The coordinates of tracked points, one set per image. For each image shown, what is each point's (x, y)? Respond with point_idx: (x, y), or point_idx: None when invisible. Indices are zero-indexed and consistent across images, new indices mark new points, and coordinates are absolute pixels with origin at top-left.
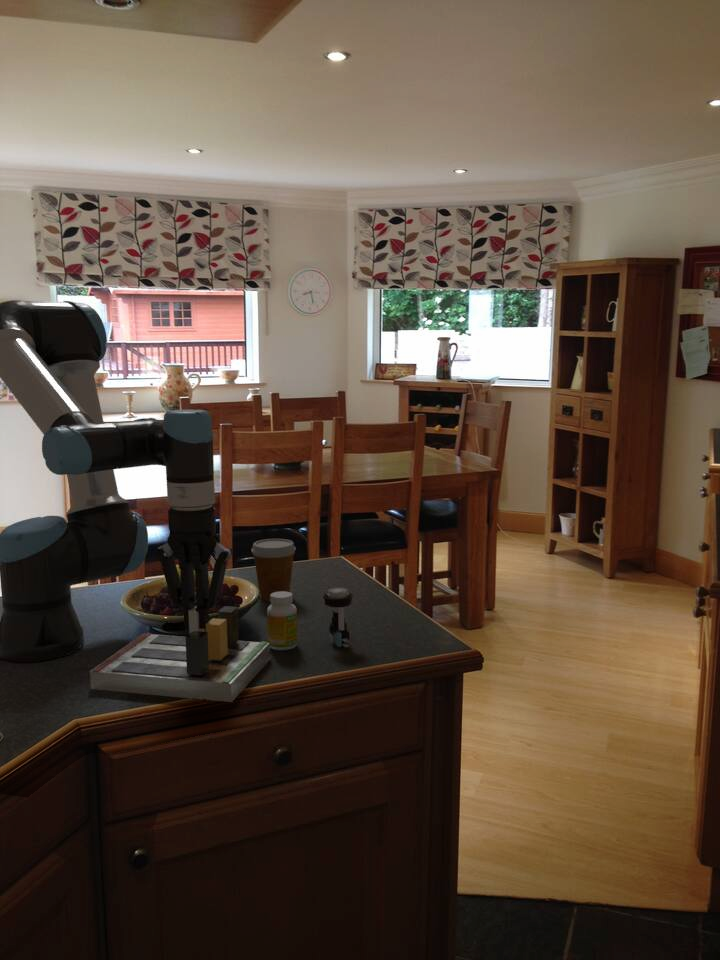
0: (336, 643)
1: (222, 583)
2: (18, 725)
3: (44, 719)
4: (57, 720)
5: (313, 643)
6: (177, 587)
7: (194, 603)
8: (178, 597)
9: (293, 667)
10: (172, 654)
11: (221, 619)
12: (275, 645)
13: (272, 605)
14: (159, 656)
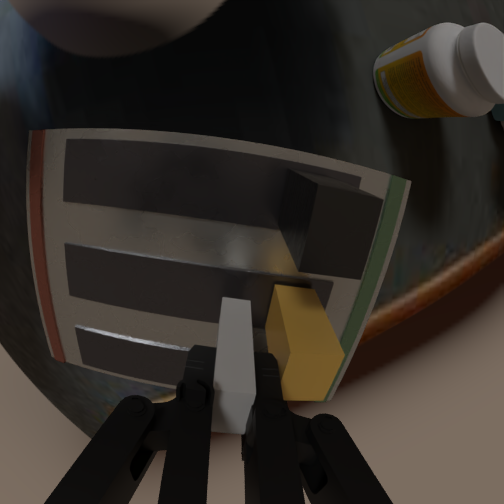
0: (493, 107)
1: (380, 493)
2: (68, 413)
3: (81, 407)
4: (96, 412)
5: None
6: (130, 482)
7: (211, 405)
8: (151, 456)
9: (432, 222)
10: (156, 287)
11: (326, 360)
12: (401, 113)
13: (459, 72)
14: (130, 300)
